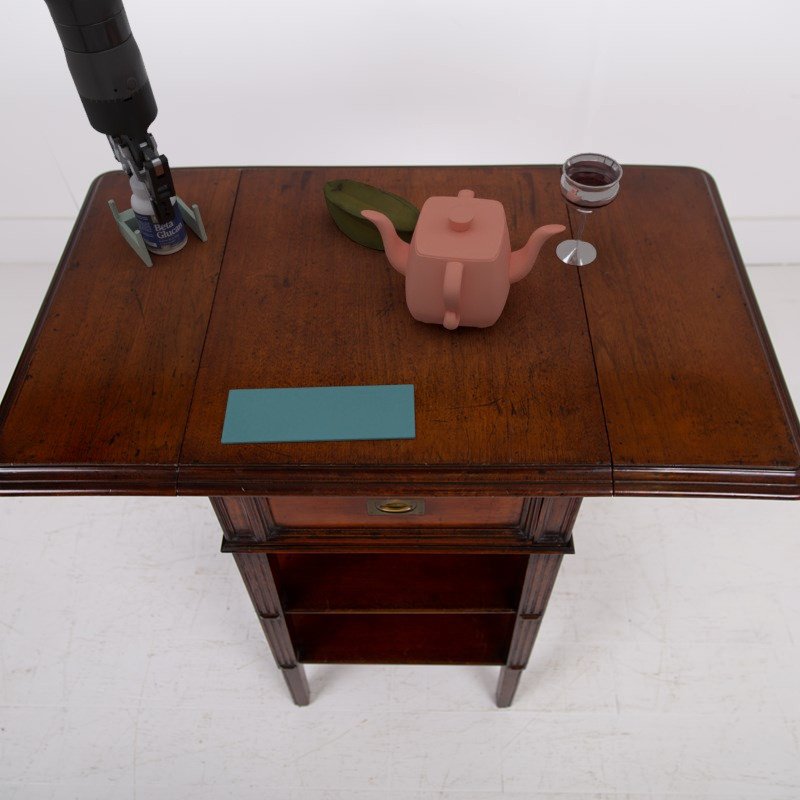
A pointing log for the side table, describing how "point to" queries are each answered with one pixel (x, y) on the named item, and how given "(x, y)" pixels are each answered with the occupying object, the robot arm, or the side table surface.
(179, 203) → the rack
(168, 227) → the pill bottle
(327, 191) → the fruit
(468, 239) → the teapot
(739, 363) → the side table surface
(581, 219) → the wineglass
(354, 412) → the strip
